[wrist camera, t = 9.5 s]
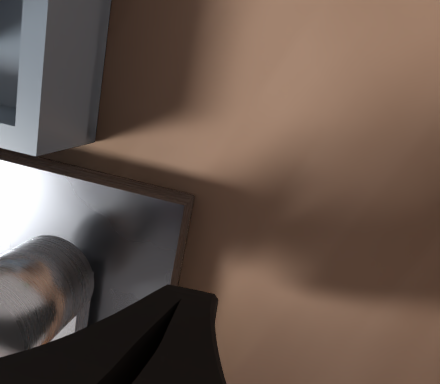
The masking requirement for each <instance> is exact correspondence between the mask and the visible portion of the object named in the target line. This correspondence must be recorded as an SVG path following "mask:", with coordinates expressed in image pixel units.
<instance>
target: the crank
mask: <svg viewBox="0 0 440 384" xmlns="http://www.w3.org/2000/svg"><path fill="white" fill-rule="evenodd" d="M93 290H94V272H93V271H92V269H91V266H90V264H89V262H88V260H87V258H86V257H85V255H84V254H83V253H82V252H81V251H80V250H79V249H78V248H77V247H76V246H75V245H74V244H72V243H71V242H69V241H67V240H65V239H63V238H61V237H58V236H53V235H40V236H36V237H33V238H31V239H29V240H27V241H25V242H24V243H22V244H20V245H18V246H16V247H15V248H13V249H11V250H9V251H7V252H5V253H4V254H2V255H0V357H4V356H7V355H10V354H14V353H17V352H21V351H24V350H28V349H31V348H34V347H37V346H40V345H43V344H46V343H48V342H51V341H54V340H56V339H59V338H62V337H64V336H67V335H69V334H72V333H74V332H77V331H79V330H81V329H83V328H86V327H87V324H88V316H89V308H90V300H91V297H92V294H93Z"/></svg>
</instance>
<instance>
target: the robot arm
mask: <svg viewBox="0 0 440 384" xmlns="http://www.w3.org/2000/svg"><path fill="white" fill-rule="evenodd" d="M217 304H218V298H217V297H216V295H215V294H212V293H207V292H202V291H197V290H193V289H188V288H183V287H178V286H174V285H169V284H167V285H165V286H163V287H161V288H160V289H158V290H156V291H154V292H153V293H151V294H149V295H147V296H146V297H144V298H142V299H140V300H139V301H137V302H135V303H133V304H131V305H129V306H128V307H126V308H124V309H122V310H120V311H118V312H117V313H115V314H113V315H110V316H108V317H106V318H104V319H102V320H100V321H98V322H96V323H94V324H92V325H90V326H88V327H86V328H83V329H81V330H79V331H77V332H74V333H72V334H69V335H67V336H64V337H62V338H59V339H56V340H54V341H51V342H48V343H46V344H43V345H40V346H37V347H34V348H31V349H28V350H24V351H21V352H17V353H14V354H10V355H7V356H4V357H0V384H226V381H225V378H224V374H223V370H222V366H221V362H220V358H219V353H218V348H217V341H216V333H215V318H216V311H217Z"/></svg>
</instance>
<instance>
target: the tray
mask: <svg viewBox="0 0 440 384" xmlns="http://www.w3.org/2000/svg"><path fill="white" fill-rule="evenodd" d="M110 7H111V0H1V1H0V148H3V149H7V150H11V151H16V152H20V153H24V154H28V155H32V156H40V155H44V154H48V153H53V152H57V151H61V150H65V149H69V148H73V147H77V146H81V145H85V144H89V143H93V142H95V137H96V128H97V120H98V111H99V102H100V94H101V85H102V76H103V68H104V59H105V50H106V42H107V33H108V25H109V16H110Z"/></svg>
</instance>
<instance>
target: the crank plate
mask: <svg viewBox="0 0 440 384" xmlns="http://www.w3.org/2000/svg"><path fill="white" fill-rule="evenodd" d="M194 197H195V195H192V194H188V193H184V192H180V191H176V190H172V189H167V188H163V187H159V186H155V185H151V184H147V183H143V182H139V181H135V180H130V179H126V178H122V177H118V176H114V175H110V174H106V173H102V172H98V171H94V170H89V169H85V168H81V167H77V166H73V165H69V164H65V163H61V162H57V161H52V160H48V159H44V158H40V157H36V156H32V155H28V154H24V153H20V152H15V151H11V150H7V149H3V148H0V255H2V254H4V253H5V252H7V251H9V250H11V249H13V248H15V247H16V246H18V245H20V244H22V243H24V242H25V241H27V240H29V239H31V238H33V237H36V236H40V235H53V236H58V237H61V238H63V239H65V240H67V241H69V242H71V243H72V244H74V245H75V246H76V247H77V248H78V249H79V250H80V251H81V252H82V253H83V254H84V255H85V257H86V258H87V260H88V262H89V264H90V266H91V269H92V271H93V272H94V290H93V294H92V297H91V300H90V308H89V316H88V324H87V327H88V326H90V325H92V324H94V323H96V322H98V321H100V320H102V319H104V318H106V317H108V316H110V315H113V314H115V313H117V312H118V311H120V310H122V309H124V308H126V307H128V306H129V305H131V304H133V303H135V302H137V301H139V300H140V299H142V298H144V297H146V296H147V295H149V294H151V293H153V292H154V291H156V290H158V289H160V288H161V287H163V286H165V285H167V284H169V285H174V286H178V282H179V277H180V272H181V266H182V261H183V256H184V250H185V245H186V240H187V235H188V229H189V224H190V219H191V213H192V208H193V203H194Z"/></svg>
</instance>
